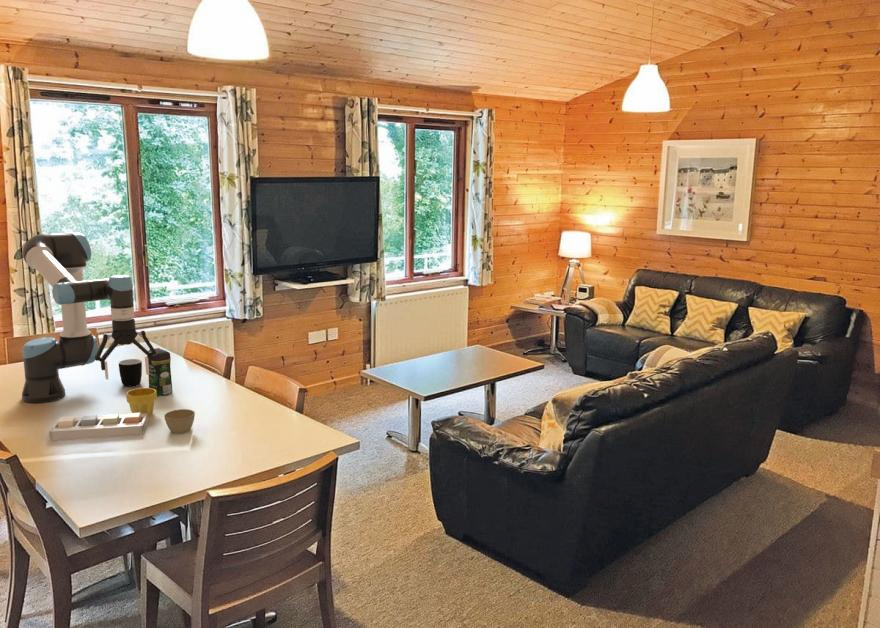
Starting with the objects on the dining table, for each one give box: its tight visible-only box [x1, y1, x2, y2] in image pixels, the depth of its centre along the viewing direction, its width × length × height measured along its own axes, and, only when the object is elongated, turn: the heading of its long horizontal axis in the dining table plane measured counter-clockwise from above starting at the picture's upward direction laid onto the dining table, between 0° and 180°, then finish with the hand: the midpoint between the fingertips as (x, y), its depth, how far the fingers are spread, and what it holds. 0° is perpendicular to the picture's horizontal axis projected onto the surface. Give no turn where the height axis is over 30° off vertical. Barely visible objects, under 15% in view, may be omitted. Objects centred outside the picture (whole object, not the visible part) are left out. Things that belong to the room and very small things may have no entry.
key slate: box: [80, 414, 98, 426], centre depth 245 cm, size 4×4×2 cm
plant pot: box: [126, 387, 158, 417], centre depth 263 cm, size 10×10×10 cm
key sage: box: [103, 413, 120, 425], centre depth 246 cm, size 4×4×2 cm
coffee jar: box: [148, 347, 174, 397], centre depth 289 cm, size 10×8×19 cm
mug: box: [118, 358, 143, 388], centre depth 301 cm, size 12×9×10 cm
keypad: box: [48, 413, 149, 442], centre depth 246 cm, size 29×13×4 cm, turn 105°
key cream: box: [58, 416, 76, 428], centre depth 243 cm, size 4×4×2 cm
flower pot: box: [163, 408, 196, 435], centre depth 248 cm, size 10×10×7 cm
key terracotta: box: [125, 412, 141, 423], centre depth 248 cm, size 4×4×2 cm
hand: (127, 376), depth 257 cm, fingers open, 13 cm apart
